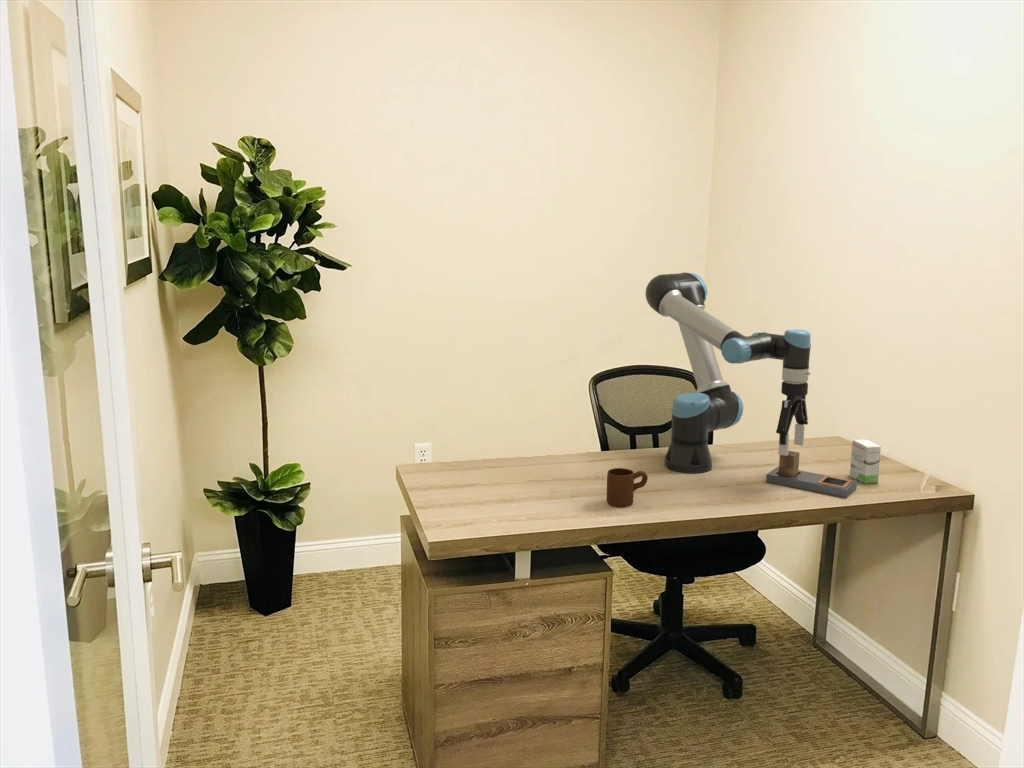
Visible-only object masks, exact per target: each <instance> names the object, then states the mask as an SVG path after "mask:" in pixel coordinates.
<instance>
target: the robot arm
mask: <svg viewBox="0 0 1024 768" xmlns="http://www.w3.org/2000/svg"><path fill="white" fill-rule="evenodd" d="M644 294H645V299H646V302H647V304H648V306H649V307H650V308H651V309H652V310H653V311H654V312H656V313H657V314H659V315H661V316H662V317H665V318H667V317H670V318H671V319H672V320H674V321H676V322H677V323H678V326H679V327H678V328H679V330H680V334H681V337H682V340H683V343H684V347H685V350H686V354H687V356H688V359H689V363H690V366H691V369H692V370H691V371H692V373H693V377H694V379H695V383H696V386H697V388H696V391H695V392H691V393H690V392H687V393H682V394H679V395H677V396H675V398H674V399H673V401H672V407H671V432H670V433H671V436H670V444H669V446H668V450H667V451H666V455H665V457H664V467H665V468H667V469H668V470H671V471H675V472H677V473H678V472H679V473H687V474H700V473H706V472H709V471H711V470H712V469H713V459H712V455H711V453H710V447H709V444H708V442H709V432H714V431H718V430H723V429H724V430H725V429H728V428H730V427H733V426H735V425H736V424H738V423H739V422H740V420H741V418H742V416H743V413H744V403H743V400H742V398H741V397H740V395H739V394H737V393H736V392H735V391H732V389H731V386H730V384H729V383H728V382H727V381H724V378H723V376H722V371H721V369H720V366H719V361H718V359H717V356H716V353H715V350H714V347H715V348H716V349H718V350H719V351H720V352H721V356H722V357H723V359H724V361H725V362H727V363H729V364H737V365H738V364H744V363H747V362H752V361H760V360H766V359H773V360H779V361H782V370H781V371H782V372H781V380H782V382H781V391H780V392H781V394H782V395H784V396H785V397H786V400H784V399H783V400H782V401H781V409H780V414H779V418H778V422H777V427H776V429H775V430H776V431H775V433H776V434H778V435H779V436H778V453H777V454H778V455H779V456H780V455H786V456H788V451H789V445H790V444H789V442H790V433H789V431H790V428H791V425H792V422H793V417H794V418H795V422H796V423H795V424H794V437H793V438H794V440H793V445H795V446H800V447H803V446H804V445H805V444H804V441H805V427H806V426H805V425H808V424H809V421H808V420H809V419H808V418H809V417H808V411H807V403H806V396H807V395H808V393H809V392H808V390H809V387H808V386H809V383H808V381H809V376H810V375H811V372H810V371H809V370H810V355H811V347H812V344H811V332H810V331H808V330H805V329H786V330H785V331H784V334H777V333H768V332H766V331H765V332H761V331H760V332H758V331H757V332H753V333H752V335H747V336H746V335H744V334H742V333H741V332H739V331H737V330H735V329H734V328H732V327H731V326H729V325H728V324H726V323H724V322H723V321H721V320H720V319H718V318H717V317H716V316H713V315H712V314H710V313H709V312H708V311H706V310H705V309H706V304H705V302H706V300H707V295H708V287H707V284H706V283H705V281H704V279H703V278H702V277H701V276H700V275H698V274H696V273H693V272H679V273H667V274H666V273H665V274H664V273H663V274H658V275H656V276H654V277H653V278H652V279H651V280H650V281H649V282H648V283H647V285H646V288H645V293H644Z"/></svg>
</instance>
